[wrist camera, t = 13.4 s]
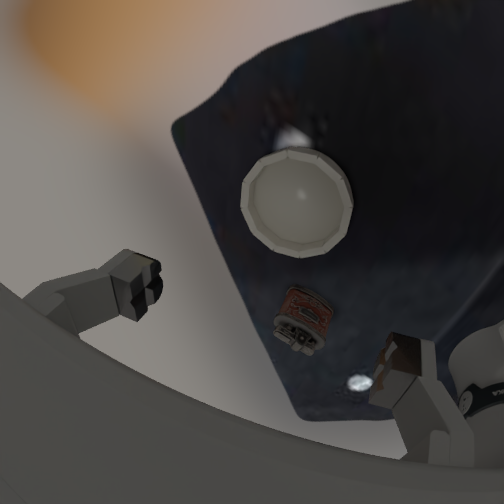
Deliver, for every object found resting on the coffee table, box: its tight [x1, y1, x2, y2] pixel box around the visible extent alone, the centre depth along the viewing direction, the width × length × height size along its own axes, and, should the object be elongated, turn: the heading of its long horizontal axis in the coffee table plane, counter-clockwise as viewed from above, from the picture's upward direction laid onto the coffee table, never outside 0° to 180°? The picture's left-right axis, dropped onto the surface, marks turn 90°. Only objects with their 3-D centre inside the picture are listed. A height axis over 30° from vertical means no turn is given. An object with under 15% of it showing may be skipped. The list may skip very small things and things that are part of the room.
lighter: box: [273, 284, 334, 355], centre depth 45 cm, size 8×3×10 cm, turn 65°
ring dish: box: [240, 147, 354, 258], centre depth 40 cm, size 14×14×3 cm
